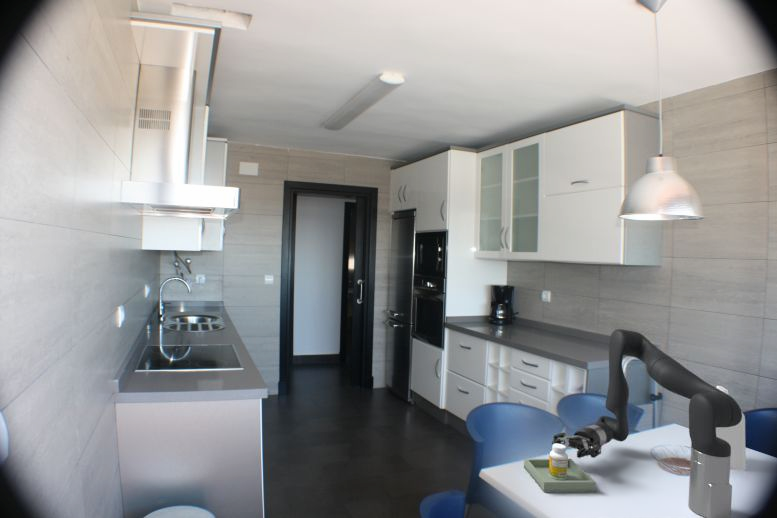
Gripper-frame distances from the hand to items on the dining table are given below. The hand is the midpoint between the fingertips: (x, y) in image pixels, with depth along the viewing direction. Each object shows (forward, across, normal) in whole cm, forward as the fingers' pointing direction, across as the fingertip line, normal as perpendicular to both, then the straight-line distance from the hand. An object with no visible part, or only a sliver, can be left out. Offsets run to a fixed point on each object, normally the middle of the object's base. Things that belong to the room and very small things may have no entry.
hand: (565, 449), depth 152 cm
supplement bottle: (+4, 0, +8) cm, 9 cm away
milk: (-57, +27, +9) cm, 64 cm away
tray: (+4, 0, +8) cm, 9 cm away
